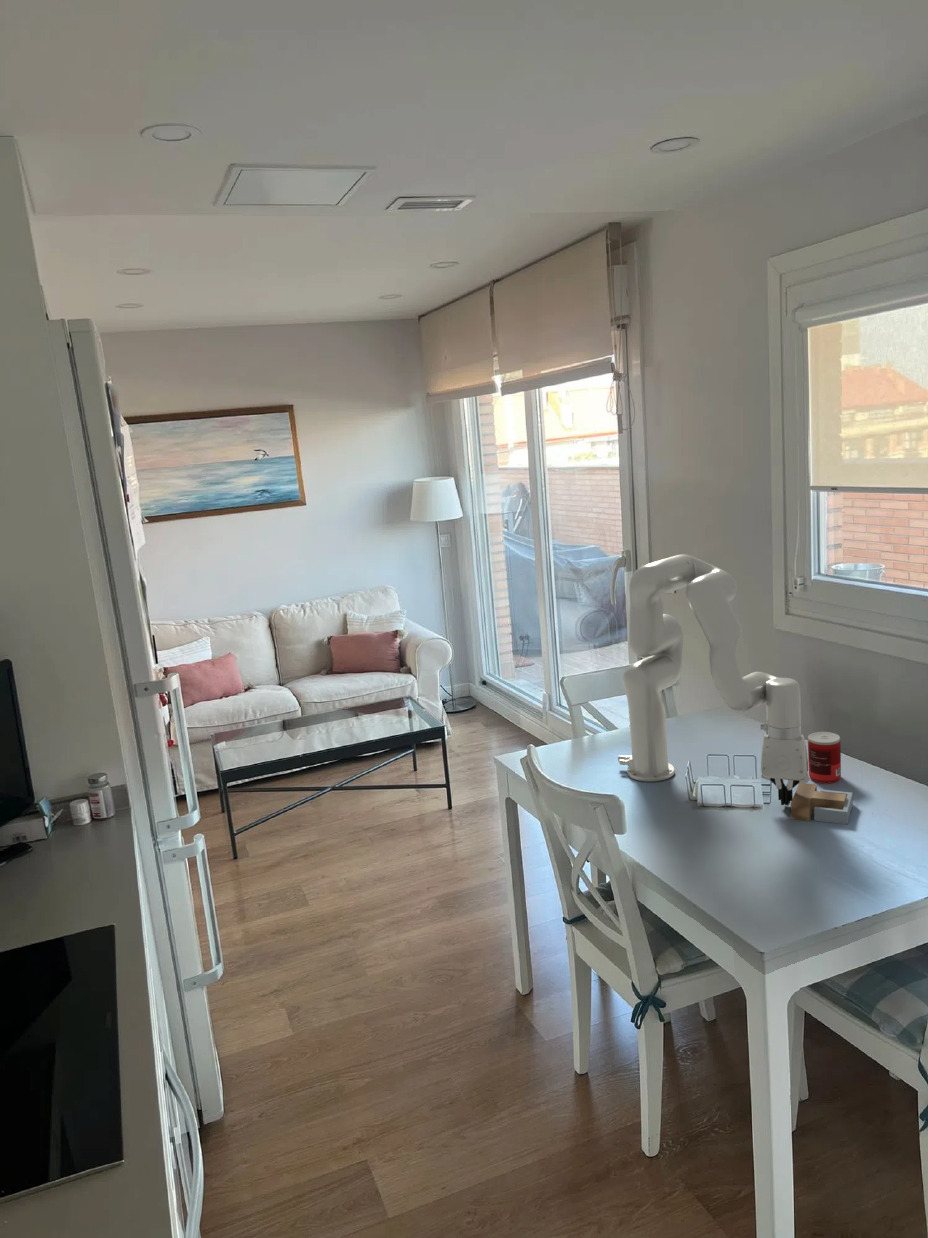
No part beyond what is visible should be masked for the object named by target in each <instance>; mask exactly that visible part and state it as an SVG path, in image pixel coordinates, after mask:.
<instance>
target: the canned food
mask: <svg viewBox="0 0 928 1238" xmlns="http://www.w3.org/2000/svg"><path fill="white" fill-rule="evenodd" d="M841 745H842V744H841V736H840V735H839V734H837V733H834V732H830V731H815V732H813V733H810V734H808V736H807V758H808V776H809V779H810V780H812V781H814V782H816V783H820V784H833V783H837V782H838V781H839V780H840V779H841V777H842V762H841V761H842V760H841V759H842V758H841V757H842V756H841V754H842V753H841V752H842V751H841V750H842V749H841V747H842V746H841Z"/></svg>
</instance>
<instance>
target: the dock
mask: <svg viewBox="0 0 928 1238" xmlns="http://www.w3.org/2000/svg"><path fill="white" fill-rule="evenodd" d="M819 792H829V793H839V794H846V801H845V804H844V808H843V810H841V809H832V808H822V807H815V808H814V814H813V815H814V822H824V823H832V824H833V823H834V824H840V825H841V824H842V825H848V824H849V821H850V817H851V813H852V809H853V805H854V803H853V801H854V800H853V798H854V797H853V796H854V795H853V793H854V792H852V791H851V792H849V791H839V790H829V789H820V791H819Z"/></svg>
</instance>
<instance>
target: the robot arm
mask: <svg viewBox="0 0 928 1238" xmlns="http://www.w3.org/2000/svg"><path fill="white" fill-rule="evenodd" d="M737 585H738V584H737V582H736V579H735V578H733V576H732V575H731V574H730V573H729V572H727V571H725V570H724V569H722V568H720V567H718V566H716V565H713V564H711V563H709V562H706V561H704V560H703V559H699V558H697V557H695V556H693V555H691V554H685V553H683V554H677V555H674V556H673V555H672V556H670V557H669V556H668V557H667V558H662V559H659V560H655V561H653V562H650V563H647V564H645V565H642V566H640V567H638V568H637V569H635V571H634V573H632V575H631V577H630V581H629V588H628V592H629V607H630V609H629V632H628V634H629V635H628V637H629V638H628V639H629V647H630V650H631V652H632V653H633V654H634V655H635V656H636V657H639V658H642V659H639V660H637V661H635V662H633V663H631V664H630V665H629V666H627V668H626V669H625V671H624V674H623V676H622V683H623V684H622V685H623V688H624V692H625V695H626V699H627V706H628V719H629V729H630V744H631V745H630V746H631V754H630V755H625V754H618V756H617V761H618V762H619V765H620V766H622V765H623V766H627V769H626V771H627V773H626V775H628V777H630V778H631V779H633V780H636V781H639V782H650V783H651V782H660V781H665V780H668V779H670V778H671V777H673V776H674V775H675V774H676V773H675V770H676V769H675V767H674V765H673V764H671V763H670V762H669V755H668V753H669V752H668V750H669V749H668V734H667V717H666V708H665V705H664V702H663V700H662V698H661V696H660V692H661V691H663V690H665V689H667V688H669V687H671V686H673V685H674V684H676V683H677V682H678V681H679V679H680V677H681V675H682V668H683V649H684V648H683V645H684V644H683V643H684V640H683V639H684V634H683V629H682V626H681V623H680V622H679V621H678V620H677V619H676V618H675V617H674V616H673V615H671V614H668V613H664V602H663V598H662V596H661V595H664V594H668V593H671V592H674V591H679V590H681V589H683V588H685V592H684V593H685V598H686V600H687V603H688V605H689V607H690V609H691V611H692V612H693V615H694V617H695V619H696V621H697V622H698V624H699V626H700V629H701V630H702V632H703V634H704V637H706V641H707V642H708V644H709V650H708V651H709V653H708V656H709V658H708V659H709V668H710V675H711V679H712V680H713V683H714V685H715V687H716V689H717V691H718V693H719V696H720V697H721V699H722V700H723V702H724V704H725V705H726V706H727V707H728V708H729V709H731V710H732V711H734V712H737V713H746V712H749V711H751V710H753V709H755V708H756V707H759V706H760V705H765V704H766V705H765V708H766V723H764V724H760V730H761V731H765V733H764V735H763V738H762V743H761V757H760V758H761V759H760V760H761V761H760V772H761V775H760V777H761V778H762V779H763V780H764V779H765V780H766V781H770V782H771V783H772V784H773V785H774V786H776V790H777V792H778V795H777V796H778V798H777V799H778V801H780V806H787V807H788V806H789V804H790V803H791V802H792V799H793V797H794V795H793V789H794V788H795V787H796V786H798V784H799V783H800V784H801V783H808V784H809V781H810V776H809V764H808V749H807V745H806V739H805V737H804V735H803V734H802V726H801V725H802V723H801V721H802V720H801V717H802V716H801V714H802V713H801V710H802V709H801V686H800V683H799V682H798V680H795V679H794V678H790V677H778V676H775V675H773V674H770V673H766V672H763V671H754V672H751V673H749V674H747V675H745V676H742V674H741V673H740V671H739V668H738V665H737V660H736V652H737V647H738V644H739V641H740V639H741V636H742V632H743V628H742V625H741V623H740V621H739V620H738V618H737V616H736V614H735V612H734V611H733V608H732V606H731V604H730V603H729V602H731V601H732V600H734V598H735V597H736V595H737V593H738V592H737V591H738V587H737ZM784 780H787V782H786V783H787V784H785V783H784Z"/></svg>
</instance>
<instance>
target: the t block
mask: <svg viewBox="0 0 928 1238" xmlns="http://www.w3.org/2000/svg"><path fill="white" fill-rule="evenodd" d="M845 801H846V794H839V793H829V792H820V791H818V784H816V783H815V784H814V783H809V782H808V783H801V784H800V783H799V784H797V788H796V789H795V792H794V795H793V799H792V801H790V818H791V820H797V821H809V822H810V821H811V818H812V816H813V815H814V808H815V807H822V808H832V809H841V810H843V808H844V804H845Z"/></svg>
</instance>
